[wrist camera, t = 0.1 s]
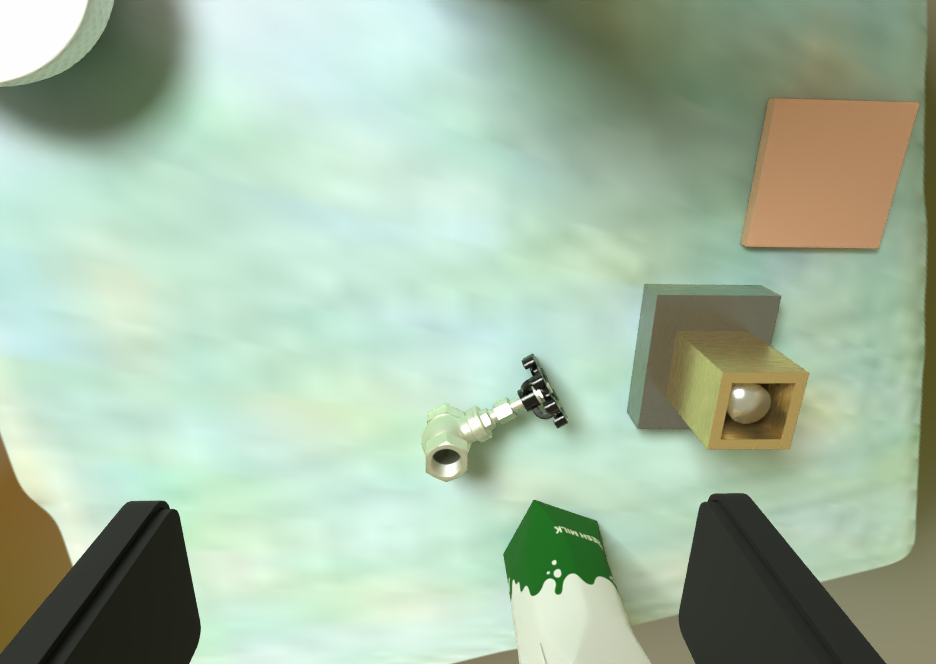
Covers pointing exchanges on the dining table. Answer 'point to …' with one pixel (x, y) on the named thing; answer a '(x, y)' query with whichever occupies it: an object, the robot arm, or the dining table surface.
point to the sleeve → (710, 380)
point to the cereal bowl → (47, 36)
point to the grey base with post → (695, 312)
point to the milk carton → (566, 593)
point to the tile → (826, 172)
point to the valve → (483, 423)
